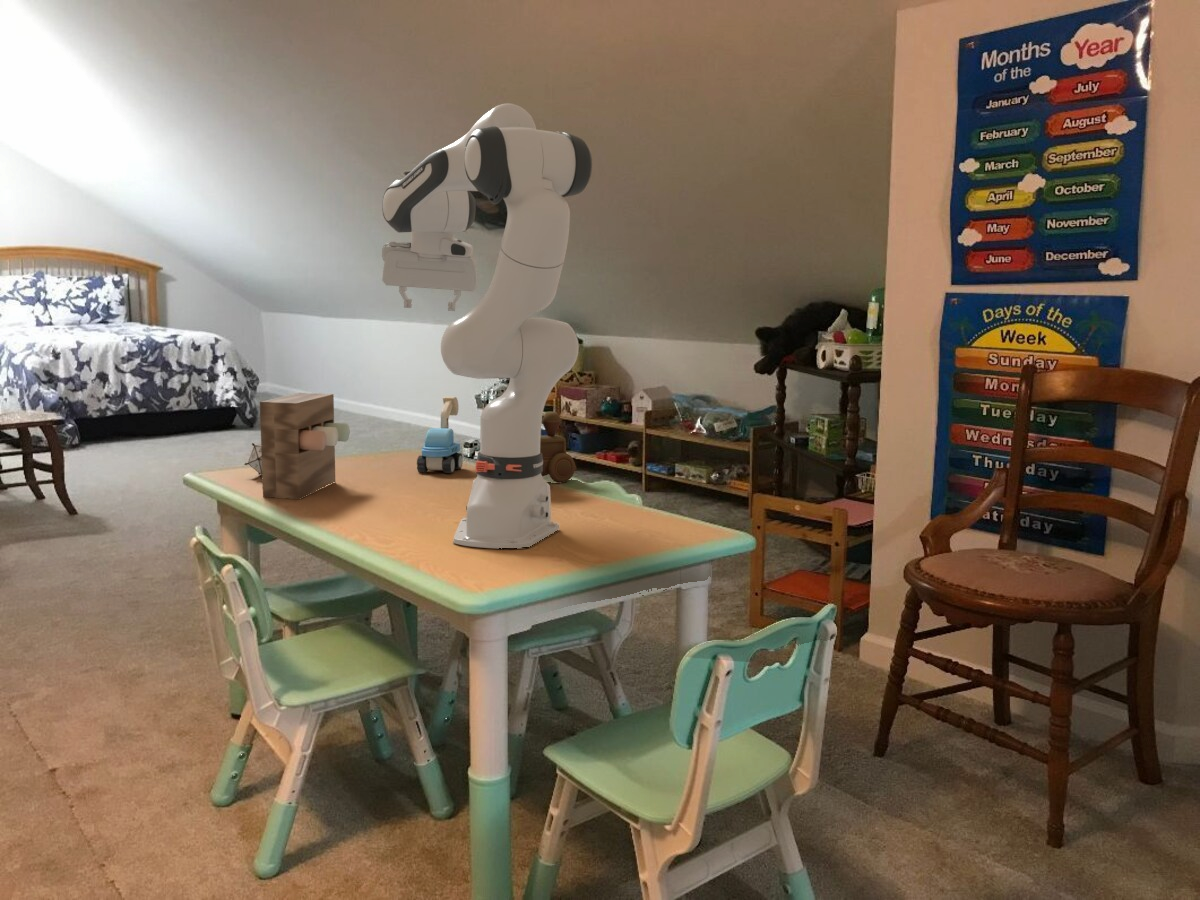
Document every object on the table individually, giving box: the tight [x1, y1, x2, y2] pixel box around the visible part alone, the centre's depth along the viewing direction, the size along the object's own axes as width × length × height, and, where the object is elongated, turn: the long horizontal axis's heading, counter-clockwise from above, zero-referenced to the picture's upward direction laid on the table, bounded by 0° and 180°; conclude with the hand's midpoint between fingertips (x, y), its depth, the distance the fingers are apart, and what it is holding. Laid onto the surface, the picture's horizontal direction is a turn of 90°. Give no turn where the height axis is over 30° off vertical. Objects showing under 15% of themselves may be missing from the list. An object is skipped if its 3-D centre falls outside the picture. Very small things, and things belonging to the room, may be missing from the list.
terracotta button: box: [298, 430, 326, 450], centre depth 204 cm, size 6×4×4 cm, turn 81°
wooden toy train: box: [540, 411, 577, 484], centre depth 226 cm, size 20×11×17 cm, turn 123°
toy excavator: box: [416, 396, 464, 474], centre depth 239 cm, size 9×17×17 cm, turn 170°
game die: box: [243, 442, 262, 479], centre depth 226 cm, size 9×8×10 cm
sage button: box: [323, 422, 350, 443], centre depth 216 cm, size 6×4×4 cm, turn 81°
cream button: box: [311, 426, 339, 447], centre depth 210 cm, size 6×4×4 cm, turn 81°
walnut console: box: [259, 392, 336, 500], centre depth 211 cm, size 8×18×20 cm, turn 171°
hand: (429, 309), depth 213 cm, fingers open, 8 cm apart
